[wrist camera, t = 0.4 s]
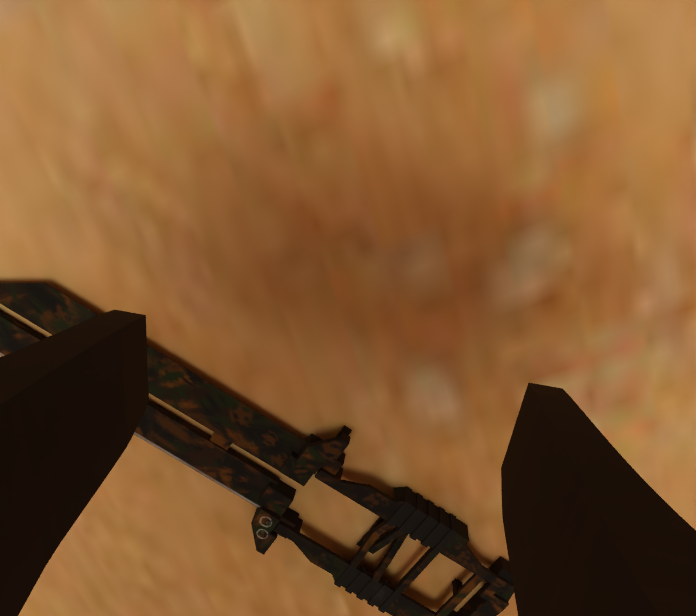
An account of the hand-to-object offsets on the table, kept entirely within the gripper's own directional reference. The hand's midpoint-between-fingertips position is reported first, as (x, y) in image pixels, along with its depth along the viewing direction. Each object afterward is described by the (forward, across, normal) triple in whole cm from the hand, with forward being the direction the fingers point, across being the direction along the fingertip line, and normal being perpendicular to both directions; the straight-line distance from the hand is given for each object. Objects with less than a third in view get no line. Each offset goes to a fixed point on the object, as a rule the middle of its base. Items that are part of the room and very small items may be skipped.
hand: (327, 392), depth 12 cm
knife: (+10, +4, +10) cm, 15 cm away
